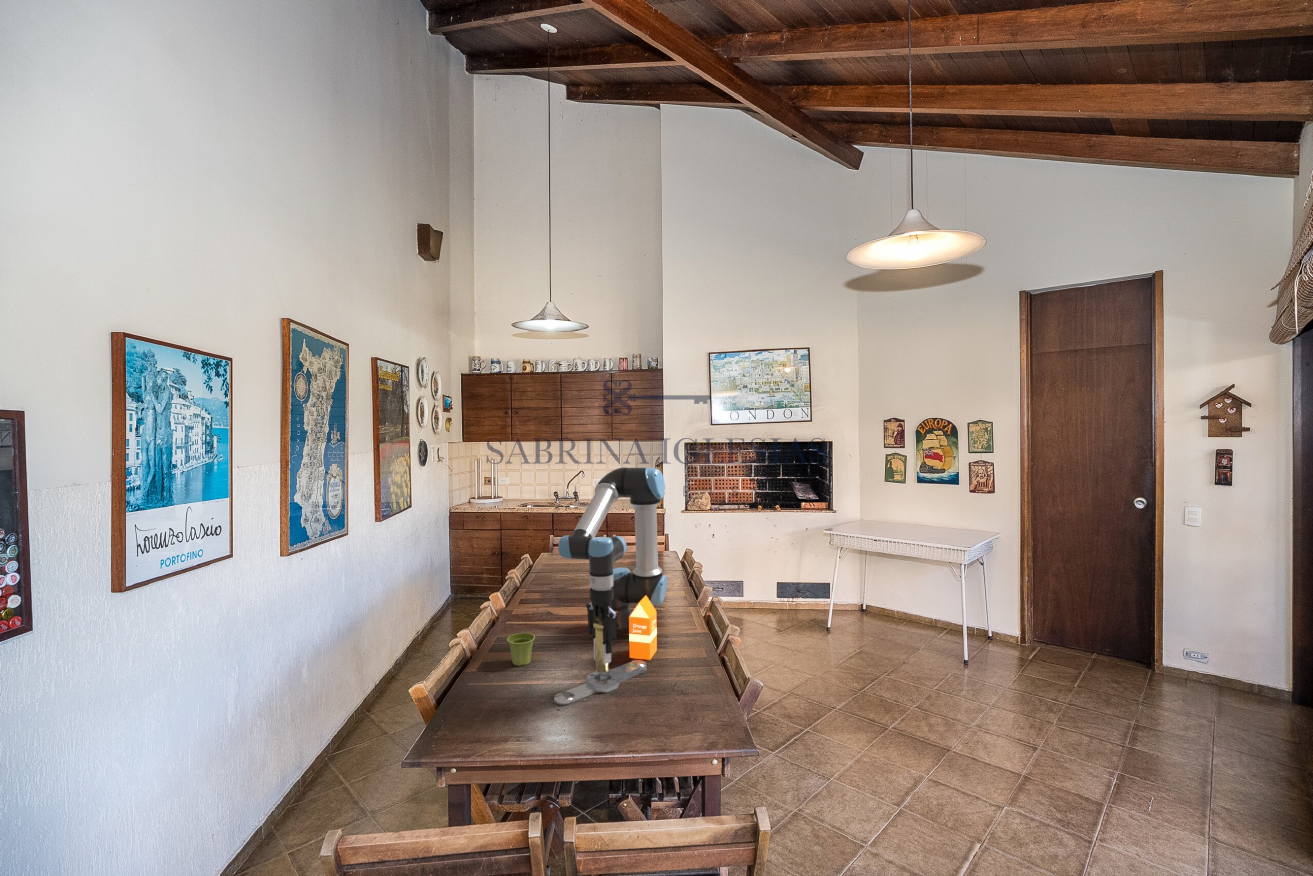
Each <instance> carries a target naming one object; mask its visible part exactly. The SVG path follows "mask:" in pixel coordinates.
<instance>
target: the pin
mask: <svg viewBox="0 0 1313 876" xmlns="http://www.w3.org/2000/svg"><path fill="white" fill-rule="evenodd" d="M593 627H594V628H595V633H596V660H595V672H596V671H597V672H600V673H603V672H607V671H608V670H610V667H609V665H610V662H609V663H607V664H603V642H604V636H603V629H604V627H603V625H602V622H601V621H599V622H594V623H593Z"/></svg>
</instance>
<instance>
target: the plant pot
mask: <svg viewBox="0 0 1313 876" xmlns="http://www.w3.org/2000/svg"><path fill="white" fill-rule="evenodd" d="M535 639H536V636H535V634H533V633H531V632H518V633H514V634H511V635H509V636H508V637H507V638H506V640H507V642H508V645H509V648H510V655H511V656H510V657H511V661H512V664H513V665H514V666H519V667H520V666H526V665H528V664H530V663H531V660H532V652H533V643H534V640H535Z"/></svg>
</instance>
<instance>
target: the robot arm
mask: <svg viewBox="0 0 1313 876" xmlns="http://www.w3.org/2000/svg"><path fill="white" fill-rule="evenodd" d="M664 478H665V477H664V475H663V473H662V472H661V470H660V469H658V468H652V467H626V466H625V467H618V468H616V469H614V470H612V471H610V472H608V473H607V474H605V475H604V476H603V477H602V478H601V479H600V480H599V481H598V482H597V484H596V485H595V488H594V490H593V491H594V492H593V493H594V494H593V497H592V498H591V500H590V502H589V504H588V505H587V506H586V509H585V510H584V512H583V514H582V516H581V517H580V519H579V521H578V523H577V524H576V526H575V527H574V530H573V532H572V533H571V535H569V534H568V535H563V536H561V537H560V539H559V541H558V548H557V550H558V554H559V556H560V557H561V558H564V559H571V560H587V561H588V564H589V565H588V566H589V568H588V569H589V571H588V572H589V574H588V575H589V600H590V601H591V602H588V603H586V605H585V606H586V609H587V632H588V635H589V636H590V635H591V638H592V647H593V660H594V661H596V633H595V628H594V627H593V623H594V622H599V621H601V622H602V625H603V627H604V629H603V636H604V642H603V664H607V663H609V664H610V663H611V662H612V652H613V651H612V650H613V649H612V644H613V643H615V642H616V641H617V635H620V634H625V633H628V632H629V616H630V615H631V613H632V610H631V605H638V603H639V602H640V601H641V600H642V599H643V598H644V597H645V596H647V598H648V599H649V601H650V602H651V604H652V605H653V606H660V605H661V604H663V602H664V600H665V597H666V593H667V591H668V577H667V575H665V574H663V569H662V567H660V566H659V553H658V552H659V551H658V550H659V549H658V515H657V514H658V513H657V506H659V505H660V503H661V500H662V499H663V498H664V497H665V494H666V492H665V490H666V485H665V480H664ZM620 498H626V499H627V498H629V499H630V500H629V503H630V505H631V506H633V508H634V510H633V511H634V531H635V532H634V533H635V534H634V535H635V536H634V538H635V562H636V564H635V566H636V567H635V568H633V570H632V573H631V571H630V569H629V568H627V567H617V568H616V567H615V568H614V563H616V562H617V561H618V560H621V558H623V556H624V555H625V554H626V553H627V549H628V545H627V543H626V540H625V539H624V538H623V537H622V536H619V535H614V536H613V535H612V536H610V537H608V536H607V537H606V536H598V537H597V536H596V535H597V534H598V532H599V530H600V528H601V527H602V524H603V522H604V520H605V518H606V517H607V515H608V512H609V511H610V509H611V507H612V505H613V504H614V503H616V502H617V501H618V499H620Z"/></svg>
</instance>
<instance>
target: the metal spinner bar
mask: <svg viewBox="0 0 1313 876" xmlns="http://www.w3.org/2000/svg"><path fill="white" fill-rule="evenodd" d="M646 673H647V662H646V661H645V660H644V659H633V660H630V661H629V662H627V663H625V664H622V665H619V666H617V667H614V668H612V669H609V670H608V671H607V672H603V673H600V672H597V671H596V670H595V671H593V672H591V673H588V674H587V676H586V679H585V683H583V684H580V685H577V686H575V687H573V688H570V689H568V690H565V691H562V692H558V693H556V694H555V695H554V697H553V699H554V700H553V702H554V704H556V705H558V706H567V705H572V704H573V703H574V702H577V701H578V700H582V699H584V698H586V697H588V696H591V695H593V694H596V693H609V692H612V691H614V690H617V689H618V688H619V684H620V683H623V682H625V681H628V680H630V679H632V678H635V677H638V676H639V675H644V674H646Z"/></svg>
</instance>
